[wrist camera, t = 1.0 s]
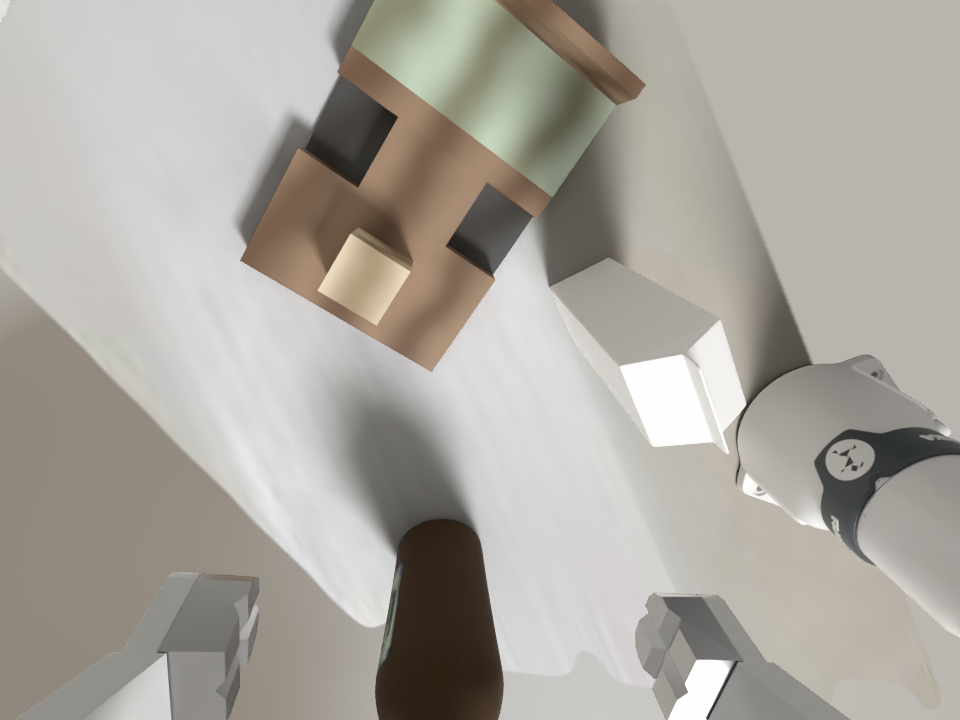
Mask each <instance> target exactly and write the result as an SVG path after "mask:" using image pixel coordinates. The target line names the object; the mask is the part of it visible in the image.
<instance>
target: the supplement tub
mask: <svg viewBox="0 0 960 720" xmlns="http://www.w3.org/2000/svg"><path fill="white" fill-rule="evenodd" d="M11 2H12V0H0V22H1V21H2V19H3V18H4V17H5V15H6V14H7V12H8V10H9V7H10V5H11Z"/></svg>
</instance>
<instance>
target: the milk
mask: <svg viewBox="0 0 960 720" xmlns="http://www.w3.org/2000/svg"><path fill="white" fill-rule="evenodd" d="M549 288H550V291H551V293H552V295H553V297H554V300H555V302H556V304H557V306H558V309H559V311H560V313H561V315H562V318H563V320H564V322H565V324H566V327H567V329H568V331H569V333H570V336H571V338H572V340H573V342H574V343H575V344H576V346H577V347H578V348H579V350H580V351H581V352H582V354H583V355H584V356H585V358H586V359H587V360H588V362H589V363H590V364H591V366H592V367H593V368H594V370H595V371H596V372H597V374H598V375H599V376H600V378H601V379H602V380H603V382H604V383H605V384H606V386H607V387H608V388H609V390H610V391H611V392H612V394H613V395H614V396H615V398H616V399H617V400H618V402H619V403H620V404H621V406H622V407H623V408H624V409H625V411H626V412H627V413H628V415H629V416H630V417H631V419H632V420H633V421H634V423H635V424H636V425H637V427H638V428H639V429H640V431H641V432H642V433H643V435H644V436H645V437H646V439H647V440H648V441H649V443H650V444H651V445H652V446H653V447H658V446H669V445H681V444H692V443H704V442H714V443H715V444H716V445H717V446H718V447H719V448H720V449H721V450H722V451H723V452H724V453H726V454H727V453H728V452H729V451H728V448H727V445H726V442H725V439H724V436H723V431H724V430H725V429H726V428H727V427H728V426H729V425H730V423H731V422H732V421H733V420H734V419H735V418H736V417H737V415H738V414H739V413H740V412H741V411H742V410H743V409H744V407H745V406H746V401H745V397H744V394H743V391H742V387H741V384H740V381H739V378H738V374H737V371H736V368H735V365H734V361H733V358H732V355H731V351H730V348H729V345H728V342H727V338H726V335H725V332H724V329H723V325H722V322H721V319H720V318H718V317H716V316H714V315H713V314H711V313H709V312H707V311H705V310H704V309H702V308H700V307H698V306H696V305H694V304H693V303H691V302H689V301H687V300H685V299H683V298H682V297H680V296H678V295H676V294H674V293H673V292H671V291H669V290H667V289H665V288H663V287H662V286H660V285H658V284H656V283H654V282H653V281H651V280H649V279H647V278H645V277H643V276H642V275H640V274H638V273H636V272H634V271H633V270H631V269H629V268H627V267H625V266H623V265H622V264H620V263H618V262H616V261H614V260H612V259H611V258H606V259H604V260H602V261H600V262H598V263H596V264H594V265H592V266H590V267H588V268H586V269H584V270H582V271H580V272H578V273H576V274H574V275H572V276H570V277H568V278H566V279H564V280H562V281H560V282H558V283H556V284H554V285H552V286H550V287H549Z"/></svg>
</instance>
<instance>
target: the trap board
mask: <svg viewBox="0 0 960 720" xmlns="http://www.w3.org/2000/svg"><path fill="white" fill-rule="evenodd" d="M338 73H339V74H340V75H341V76H342V77H343V78H342V80H341V81H340V83H339V85H338V87H337V89H336V91H335V93H334V95H333V97H332V99H331V101H330V103H329V105H328V106H327V108H326V110H325V112H324V114H323V116H322V118H321V120H320V122H319V124H318V126H317V128H316V129H315V131H314V133H313V135H312V137H311V139H310V141H309V143H308V145H307V147H306V149H302V148H298V149H297V151H296V153H295V155H294V157H293V159H292V161H291V163H290V165H289V167H288V169H287V171H286V173H285V174H284V176H283V178H282V180H281V182H280V184H279V186H278V188H277V190H276V192H275V194H274V196H273V198H272V200H271V202H270V204H269V205H268V207H267V209H266V211H265V213H264V215H263V217H262V219H261V221H260V223H259V225H258V227H257V229H256V231H255V233H254V235H253V236H252V238H251V240H250V242H249V244H248V246H247V248H246V250H245V252H244V254H243V256H242V258H241V260H240V261H242V262H244V263H245V264H247V265H249V266H251V267H252V268H254V269H256V270H257V271H259V272H261V273H263V274H264V275H266V276H268V277H269V278H271V279H273V280H275V281H276V282H278V283H280V284H281V285H283V286H285V287H287V288H288V289H290V290H292V291H293V292H295V293H297V294H299V295H300V296H302V297H304V298H305V299H307V300H309V301H311V302H312V303H314V304H316V305H317V306H319V307H321V308H323V309H324V310H326V311H328V312H330V313H331V314H333V315H335V316H336V317H338V318H340V319H342V320H343V321H345V322H347V323H348V324H350V325H352V326H354V327H355V328H357V329H359V330H360V331H362V332H364V333H366V334H367V335H369V336H371V337H372V338H374V339H376V340H378V341H379V342H381V343H383V344H384V345H386V346H388V347H390V348H391V349H393V350H395V351H396V352H398V353H400V354H402V355H403V356H405V357H407V358H408V359H410V360H412V361H414V362H415V363H417V364H419V365H421V366H422V367H424V368H426V369H427V370H429V371H431V372H432V371H433V369H434V368H435V366H436V365H437V363H438V362H439V360H440V359H441V358H442V356H443V355H444V353H445V352H446V350H447V349H448V347H449V346H450V345H451V343H452V342H453V340H454V339H455V337H456V336H457V334H458V333H459V332H460V330H461V329H462V327H463V326H464V324H465V323H466V321H467V320H468V319H469V317H470V316H471V314H472V313H473V311H474V310H475V308H476V307H477V306H478V304H479V303H480V301H481V300H482V298H483V297H484V295H485V294H486V293H487V291H488V290H489V288H490V287H491V285H492V284H493V282H494V281H495V278H494V276H493V274H494V272H495V271H496V269H497V268H498V266H499V265H500V264H501V262H502V261H503V259H504V258H505V256H506V255H507V253H508V252H509V250H510V249H511V248H512V246H513V245H514V243H515V242H516V240H517V239H518V237H519V236H520V234H521V233H522V232H523V230H524V229H525V227H526V226H527V224H528V223H529V221H530V220H531V219H532V217H535V218H537V219H538V218H539V216H540V215H541V213H542V212H543V210H544V209H545V207H546V206H547V205H548V203H549V202H550V200H551V199H552V197H553V196H554V194H555V193H556V192H557V190H558V189H559V187H560V186H561V184H562V183H563V181H564V180H565V179H566V177H567V176H568V174H569V173H570V171H571V170H572V168H573V167H574V166H575V164H576V163H577V161H578V160H579V158H580V157H581V155H582V154H583V153H584V151H585V150H586V148H587V147H588V145H589V144H590V142H591V141H592V140H593V138H594V137H595V135H596V134H597V132H598V131H599V129H600V128H601V127H602V125H603V124H604V122H605V121H606V119H607V118H608V117H609V115H610V114H611V112H612V111H613V109H614V108H615V106H616V105H618V104H621V103H624V102H627V101H630V100H633V99H636V98H637V96H638V95H639V94H640V92H641V91H642V89H643V88H644V87H645V85H646V84H645V83H643V82H642V81H641V80H640V79H639V78H638V77H637V76H636V75H635V74H633V73H632V72H631V71H630V70H629V69H628V68H627V67H626V66H624V65H623V64H622V63H621V62H620V61H619V60H618V59H617V58H615V57H614V56H613V55H612V54H611V53H610V52H609V51H608V50H607V49H605V48H604V47H603V46H602V45H601V44H600V43H599V42H598V41H596V40H595V39H594V38H593V37H592V36H591V35H590V34H589V33H588V32H586V31H585V30H584V29H583V28H582V27H581V26H580V25H579V24H577V23H576V22H575V21H574V20H573V19H572V18H571V17H570V16H569V15H567V14H566V13H565V12H564V11H563V10H562V9H561V8H560V7H558V6H557V5H556V4H555V3H554V2H553V1H552V0H374V2H373V4H372V6H371V8H370V10H369V12H368V14H367V16H366V18H365V19H364V21H363V23H362V25H361V27H360V29H359V31H358V33H357V35H356V37H355V39H354V41H353V43H352V45H351V47H350V49H349V50H348V52H347V54H346V56H345V58H344V60H343V62H342V64H341V66H340V68H339V70H338ZM358 227H360V228H362V229H363V230H365V231H366V232H368V233H369V234H371V235H372V236H374V237H375V238H377V239H379V240H380V241H382V242H383V243H385V244H386V245H388V246H389V247H391V248H393V249H394V250H396V251H397V252H399V253H400V254H402V255H403V256H405V257H406V258H408V259H410V260H411V261H413V265H412V269H411V272H410V274H409V275H408V277H407V278H406V280H405V282H404V283H403V285H402V286H401V288H400V289H399V291H398V293H397V294H396V296H395V297H394V299H393V300H392V302H391V304H390V305H389V307H388V308H387V310H386V312H385V313H384V315H383V316H382V318H381V319H380V321H379V323H378V324H377V326H376V325H375V324H373V323H371V322H370V321H368V320H366V319H365V318H363V317H361V316H359V315H358V314H356V313H354V312H353V311H351V310H349V309H348V308H346V307H344V306H343V305H341V304H339V303H337V302H336V301H334V300H332V299H331V298H329V297H327V296H326V295H324V294H322V293H321V292H319V291H318V289H319V287H320V286H321V284H322V282H323V280H324V279H325V277H326V275H327V273H328V272H329V270H330V268H331V267H332V265H333V263H334V261H335V260H336V258H337V256H338V254H339V253H340V251H341V249H342V248H343V246H344V244H345V242H346V241H347V239H348V237H349V235H350V234H351V233H352V232H353V231H355V230H356V229H357V228H358Z"/></svg>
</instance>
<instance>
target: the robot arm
mask: <svg viewBox="0 0 960 720" xmlns="http://www.w3.org/2000/svg"><path fill="white" fill-rule="evenodd" d="M936 417H937V416H936V414H935V413H934V412H932V411H931V410H930V409H928V408H927V407H926V406H925V405H924V404H922V403H921V402H919V401H917V400H915V399H914V398H912V397H910V396H908V395H906V394H904V393H903V392H901V391H899V389H898V388H897V386H896V384H895V383H894V382H893V380H892V379H891V377H890V376H889V374H888V373H887V371H886V370H885V368H884V367H883V365H882V364H881V362H880V361H879V360H877V359H876V358H874V357H872V356H870V355H861V356H857V357H854V358H852V359H849V360H847V361H844V362H842V363H837V364H815V365H810V366H805V367H802V368H798V369H796V370H793V371H791V372H789V373H787V374H785V375H783V376H781V377H779V378H778V379H776V380H775V381H773V382H772V383H771V384H769V385H768V386H767V387H766V388H765V389H764V390H762V391H761V393H760V394H759V395H758V396H757V397H756V398H755V399H754V400H753V402H752V403H751V404H750V406H749V407H748V409H747V411H746V413H745V414H744V416H743V419H742V421H741V424H740V427H739V431H738V440H737V444H738V452H739V456H740V461H741V466H740V470H739V474H738V478H737V486H738V488H739V489H740V490H742V491H743V492H744V493H745V494H747V495H750V496H753V497H756V498H758V499H761V500H764V501H767V502H770V503H773V504H776V505H778V506H781V507H782V508H783V509H784V510H785V511H786V512H787V513H788V514H790V515H791V516H792V517H793V518H794V519H795V520H796V521H798V522H799V523H800V524H802V525H804V524H808V525H810V526H813V527H816V528H819V529H824V530H828V531H831V532H832V533H833V534H834V535H835V536H836V537H838V539H839V541H840V542H841V543H842V544H843V545H844V546H846V547H847V548H848V549H849V550H850V551H853V552H854V553H855V554H856V555H858V556H859V557H860V558H861V559H862V560H864V561H865V562H867V563H869V564H872V565H875V566H877V567H878V568H880V569H881V570H882V571H883V572H884V573H885V574H886V575H887V576H888V577H889V578H890V579H891V580H893V581H894V582H895V583H896V584H897V585H898V586H899V587H900V588H901V589H902V590H903V591H904V592H906V593H907V594H908V595H909V596H910V597H911V598H912V599H913V600H914V601H915V602H916V603H917V604H919V605H920V606H921V607H922V608H923V609H924V610H925V611H926V612H927V613H928V614H930V615H931V616H932V617H933V618H934V619H935V620H936V621H937V622H938V623H939V624H940V625H941V626H942V627H943V628H945V629H946V630H947V631H949V632H950V633H952V634H954V635H956V636H957V637H959V638H960V442H959V441H957V440H955V439H953V438H949V437H948V436H949V435H950V433H951V431H950V430H949V428H948V427H946V426H945V425H944V424H943V423H941V422H940V421H938V420H937V419H935V418H936ZM258 592H259V578H257V577H249V576H248V577H247V576H234V575H219V574H204V573H203V574H197V573H181V572H173V573H172V574H171V575H170V576H168V577H167V578H166V579H165V581H164V582H163V584H162V586H161V588H160V589H159V591H158V592H157V594H156V596H155V597H154V599H153V600H152V602H151V604H150V605H149V607H148V609H147V610H146V612H145V614H144V615H143V617H142V618H141V620H140V622H139V623H138V625H137V627H136V628H135V630H134V631H133V633H132V635H131V636H130V638H129V640H128V641H127V643H126V645H125V646H124V648H123V649H122V651H121V652H111V653H110V654H108V655H107V656H105V657H104V658H102V659H101V660H99V661H98V662H97V663H95V664H94V665H92V666H91V667H89V668H88V669H87V670H85V671H84V672H82V673H81V674H79V675H78V676H77V677H75V678H74V679H72V680H71V681H69V682H68V683H67V684H65V685H64V686H62V687H61V688H59V689H58V690H57V691H55V692H54V693H52V694H51V695H49V696H48V697H46V698H45V699H44V700H42V701H41V702H39V703H38V704H36V705H35V706H33V707H32V708H31V709H29V710H28V711H26V712H25V713H24V714H22V715H21V716H19V717H18V718H16V719H15V720H228V719H229V716H230V713H231V711H232V708H233V705H234V702H235V699H236V696H237V693H238V690H239V688H240V670H241V669H242V668H243V667H244V666H245V665H247V664H248V661H249V658H250V655H251V652H252V649H253V645H254V641H255V637H256V633H257V626H258V617H259V609H258V607H257V606H256V605H255V601H256V598H257V596H258ZM645 606H646V608H647V610H648V612H649V613H648V614H647V615H646V616H644V617H643V618H642V619H640V620H639V623H638V626H637V629H636V632H635V640H636V649H637V654H638V657H639V660H640V662H641V664H642V667H643V669H644V670H645V671H647V672H648V673H649V674H650V675H651V676H652V677H653V678H654V683H653V688H652V690H653V692H654V694H655V697H656V699H657V701H658V703H659V706H660V708H661V710H662V712H663V715H664V717H665V719H666V720H850V719H849V718H847V717H846V716H845V715H843V714H842V713H841V712H839V711H838V710H837V709H835V708H834V707H833V706H831V705H830V704H829V703H827V702H826V701H824V700H823V699H822V698H820V697H819V696H818V695H816V694H815V693H814V692H812V691H811V690H810V689H808V688H807V687H806V686H804V685H803V684H802V683H800V682H799V681H798V680H796V679H795V678H794V677H792V676H791V675H790V674H788V673H787V672H785V671H784V670H783V669H781V668H780V667H779V666H777V665H776V664H775V663H770V662H766V660H765V659H764V657H763V656H762V654H761V653H760V651H759V650H758V649H757V647H756V646H755V644H754V643H753V641H752V640H751V638H750V637H749V636H748V634H747V633H746V631H745V630H744V628H743V627H742V626H741V624H740V623H739V621H738V620H737V618H736V617H735V615H734V614H733V613H732V611H731V610H730V608H729V607H728V605H727V604H726V602H725V601H724V600H723V599H722V598H721V597H719V596H718V595H710V594H695V595H694V594H682V593H653V594H652V595H650V596H649V598H648V600H647V603H646V605H645Z"/></svg>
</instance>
